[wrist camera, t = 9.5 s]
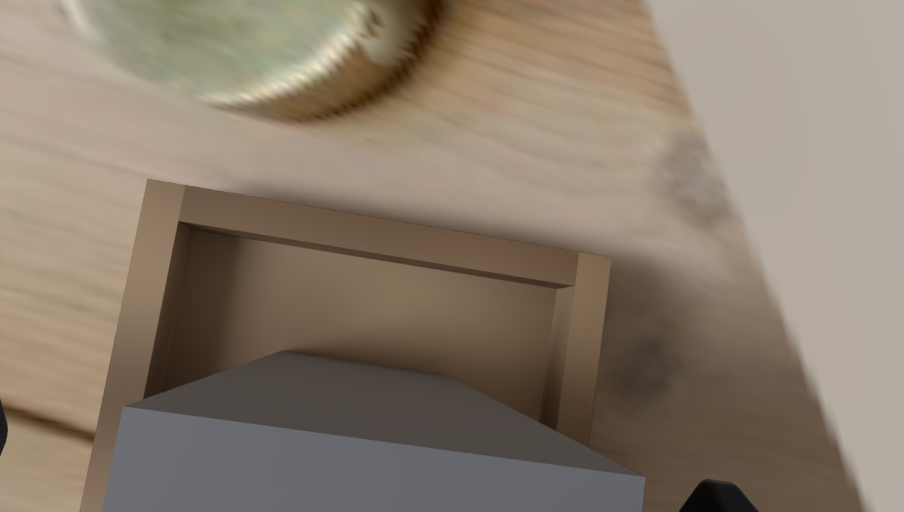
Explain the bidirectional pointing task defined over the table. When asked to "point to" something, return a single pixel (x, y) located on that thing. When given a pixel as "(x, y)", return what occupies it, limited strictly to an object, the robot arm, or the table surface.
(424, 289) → the wooden tray
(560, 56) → the table surface
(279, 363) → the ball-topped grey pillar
